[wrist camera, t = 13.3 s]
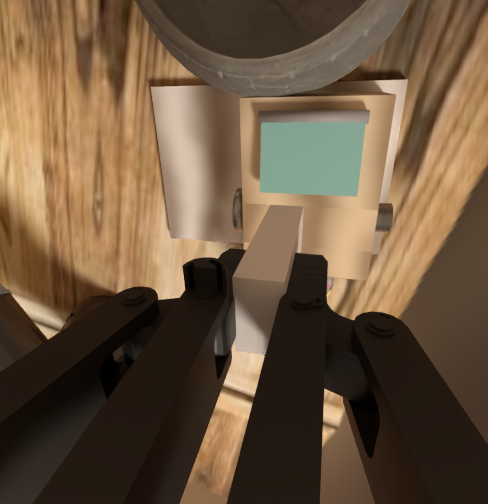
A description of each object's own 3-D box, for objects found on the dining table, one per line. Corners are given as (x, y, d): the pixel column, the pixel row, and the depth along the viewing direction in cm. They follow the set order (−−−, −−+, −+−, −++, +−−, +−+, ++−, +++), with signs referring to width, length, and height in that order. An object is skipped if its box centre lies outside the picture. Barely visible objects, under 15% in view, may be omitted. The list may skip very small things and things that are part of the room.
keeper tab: (259, 190, 30) (256, 192, 29) (260, 111, 28) (258, 110, 27) (359, 195, 28) (360, 197, 27) (369, 109, 26) (370, 109, 25)
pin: (243, 221, 39) (233, 237, 35) (242, 182, 37) (231, 194, 33) (383, 230, 36) (389, 249, 32) (390, 188, 34) (397, 202, 30)
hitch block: (173, 234, 46) (140, 266, 38) (154, 86, 38) (107, 88, 30) (377, 250, 40) (387, 291, 32) (406, 79, 32) (428, 78, 24)
